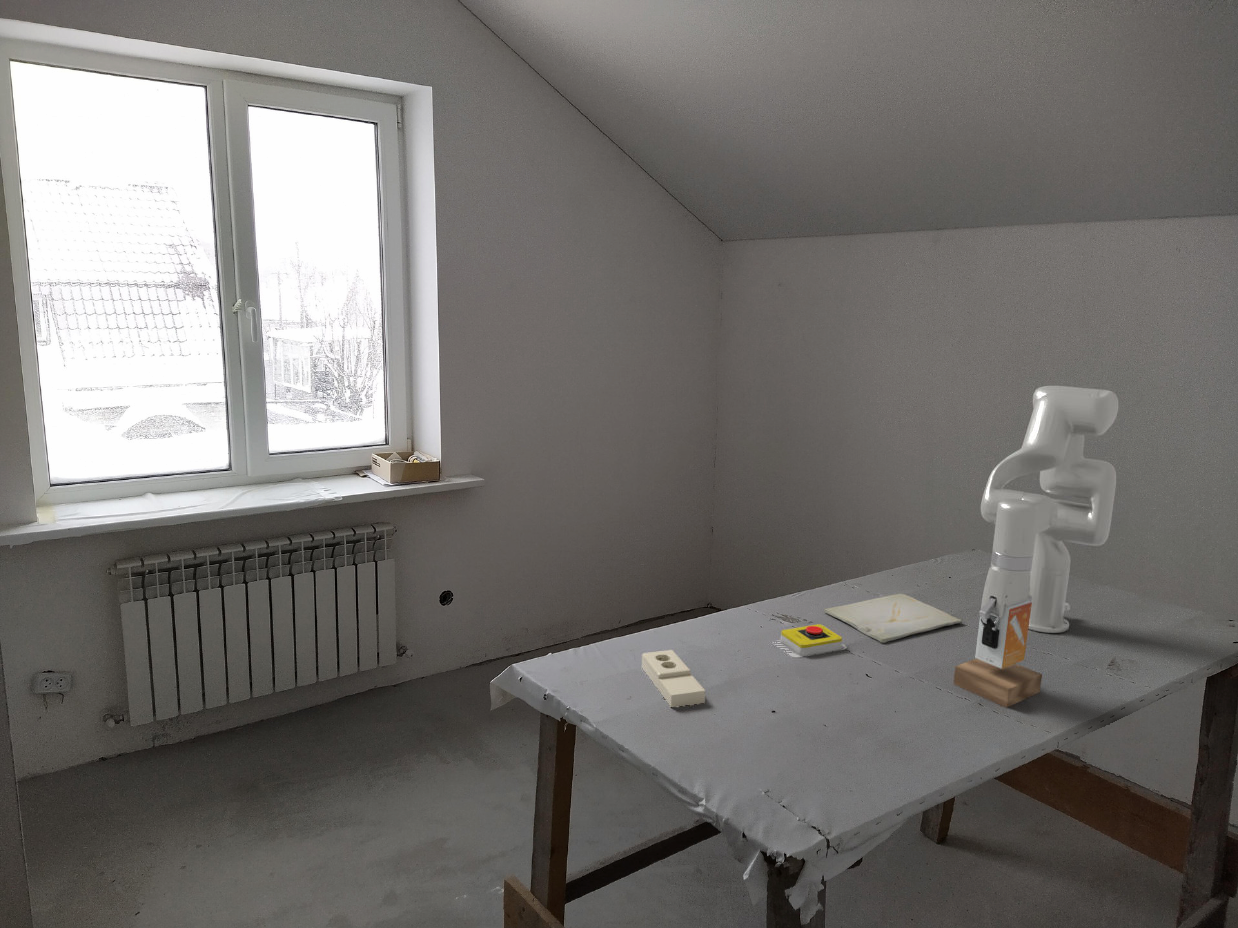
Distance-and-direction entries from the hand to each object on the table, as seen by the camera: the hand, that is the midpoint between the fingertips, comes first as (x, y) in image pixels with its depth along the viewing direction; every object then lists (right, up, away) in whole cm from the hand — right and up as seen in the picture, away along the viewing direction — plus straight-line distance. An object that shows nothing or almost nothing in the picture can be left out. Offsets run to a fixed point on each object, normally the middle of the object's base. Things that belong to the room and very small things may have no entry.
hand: (1001, 641), depth 177 cm
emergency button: (-35, -6, +22) cm, 41 cm away
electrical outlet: (-68, -10, +1) cm, 69 cm away
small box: (0, -4, +1) cm, 4 cm away
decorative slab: (-11, -3, +38) cm, 40 cm away
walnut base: (0, -10, +2) cm, 11 cm away
